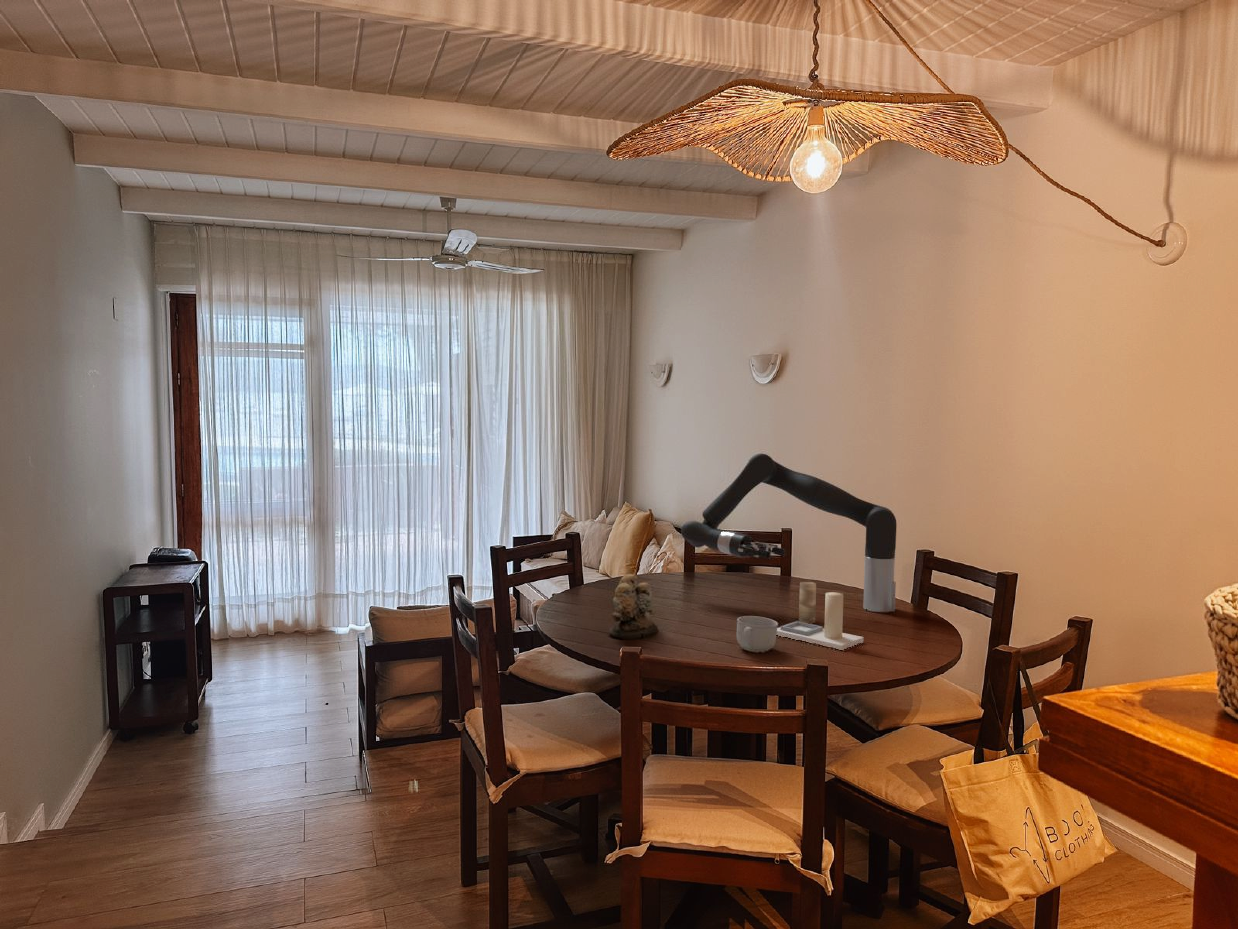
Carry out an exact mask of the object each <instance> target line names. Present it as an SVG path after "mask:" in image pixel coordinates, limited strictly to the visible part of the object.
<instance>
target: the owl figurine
mask: <svg viewBox="0 0 1238 929" xmlns="http://www.w3.org/2000/svg"><path fill="white" fill-rule="evenodd" d="M612 602H613V606H614V612H613V613H610V616H611V617H612V618H613V620H614V622H617V623H616V624H614V625H613V626H611V628H610V629H609V630H608V635H609V636H610V637H611V638H612V637H614V638H618V639H623V640H638V639H642V638H644V637H645V638H648V637H651V636H654V635H655V634H656V633H657V632H658V629H659V627H658V625H656V624H655V622H654V615H655V614H656V609H655V608H653V605H654V603H653V602H654V600H653V592H652V588H651V585H650V584H649V582H640V583H638V576H636V575H635V574H630V573H627V574H625V575H623V576H622V577H621V579H620V580H619V583H618V585H617V587H616V588H615V590H614V597H613V599H612ZM653 634H654V635H653Z"/></svg>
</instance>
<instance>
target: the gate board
mask: <svg viewBox="0 0 1238 929" xmlns="http://www.w3.org/2000/svg"><path fill="white" fill-rule="evenodd" d="M824 603H825V604H824V626H823V625H818V624H808V623H803V622H799V620H795V621H794V622H790V623H787V624H784V625H781V626H780V627H777V635H778V636H777V637H779V636H781V637H780V638H783V637H788V638H791V639H790V640H792V639H795V640H794V641H796V640H802V641H806V642H809V643H816V644H820V645H823V646H827V647H833V648H836V649H839V650H843V651H845V650H844V649H846V648H847V647H851V648H853V647H855V646H854V645H856V646H857V644H858V643H861V644H863V643H864V636H859V635H856V634H855V635H854V634H851V633H845V632H843V622H844V619H843V618H844V617H843V616H844V614H843V613H844V594H843V593H842V592H837V591H836V592H834V591H833V592H832V591H831V592H830V591H829V592H825V599H824ZM788 638H787V639H788ZM809 643H808V644H809ZM858 645H859V644H858ZM852 646H853V647H852ZM839 650H838V651H839ZM846 650H847V649H846Z"/></svg>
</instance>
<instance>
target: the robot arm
mask: <svg viewBox="0 0 1238 929" xmlns="http://www.w3.org/2000/svg"><path fill="white" fill-rule="evenodd" d="M760 484H766V485H769V486H772V487H775V488H777V489H780V490H782V491H784V492H785V493H786V492H787V493H788V494H789V495H790V496H793V497H795V498H797V499H798V500H799V501H802V502H803V503H805V504H807V505H809V506H811V507H814V508H816V509H819V510H820V511H823V512H826V513H829V514H832V515H836V516H840V517H844V518H847V519H850V520H852V521H854V522H856V523H858V524H860V525H862V526H863V527H865V547H864V573H863V574H864V576H863V578H864V580H863V601H862V602H863V603H862V604H863V606H862V607H863V609H864V610H866V609H867V610H866V611H869V612H873V613H874V612H875V613H889V612H895V610H896V587H897V585H896V581H895V562H896V560H895V559H896V558H895V557H896V548H897V547H896V545H897V526H898V524H897V518H896V516H895V514H894V513H893V512H892V510H891V509H889V508H887V507H885V506H881V505H879V504H875V503H871V502H869V501H866V500H863V499H861V498H859V497H856V496H855V495H853V494H851V493H850V492H847V491H846V490H844V489H842V488H840V487H838V486H836V485H834V484H832V483H829V482H828V481H826V480H823V479H821V478H818V477H816V476H813V475H809V474H806V473H804V472H800V471H795V470H793V469H790V468H788V467H786V466H784V465H782V464H780V463H779V462H776V461H775V460H774V459H773V458H772V457H771V456H769V455H768V454H766V453H756V454H754V455H752V456H751V457H750V458H749V460H748V462H747V463H746V465H745V466H744V467H743V469H742V471H740V473H739V474H738V476H736V478H735V479H734V480H733V481H732V482H731V484H729V485H728V487H726V489H724V490H723V491H722V492H721V493H720V494H719V495H718V496H717V497H716V498H715V499H713V501H712V502H710V503H709V505H708V506H707V507H706V508H705V509H704V510H703V511H702V518H703V521H702V522H700V521H696V520H689V521H686V522H685V523H684V524H683V525H682V526H681V529H680V533H681V534H680V535H681V536H682V538H683V539H684V540H685V541H686V542H688V543H689V544H690V545H691V546H693V547H694V548H702V547H704V546H706V547H707V548H709V549H710V550H714V551H718V552H722V553H724V554H727V555H731V556H734V557H737V558H742V559H744V558H748V557H750V558H754V557H755V558H762V559H763V558H764V559H767V560H768V559H771V555H775V556H776V555H777V556H781V557H785V556H786V552H787V550H786V548H781V547H778V545H777V544H773V543H769V542H764V541H753V538H752V536H750V535H749V534H745V533H742V532H736V531H732V530H724V529H720V528H719V526H720V524H721V525H722V523H723V522H724V521H725V520H726V519H727V518H728V517H729V516H730V515H731V514H732V513H733V511H734V510H735V509H737V506H738V505H740V503H741V502H742V501H743V499H744V498H745V497H746V496H747V495H748V494H749V493H750V492H752V490H753V489H755V488H756V487H758V486H759V485H760Z"/></svg>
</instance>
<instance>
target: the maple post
mask: <svg viewBox="0 0 1238 929" xmlns="http://www.w3.org/2000/svg"><path fill="white" fill-rule="evenodd" d="M816 598H817V583H815V582H812V581H800V582H799V598H798V603H799V604H798V606H799V607H798V622H803V623H815V624H816V605H817V604H816V602H817V600H816Z"/></svg>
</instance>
